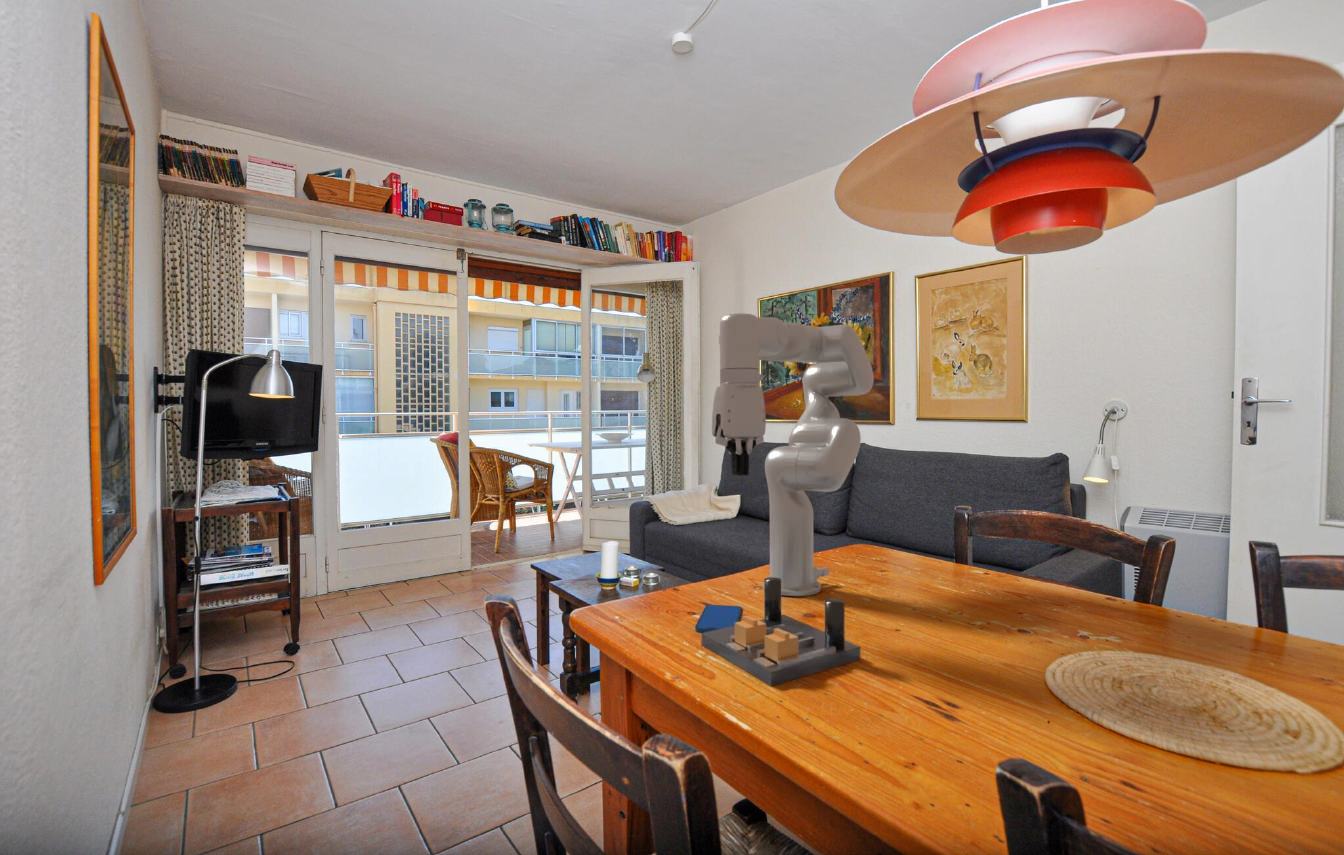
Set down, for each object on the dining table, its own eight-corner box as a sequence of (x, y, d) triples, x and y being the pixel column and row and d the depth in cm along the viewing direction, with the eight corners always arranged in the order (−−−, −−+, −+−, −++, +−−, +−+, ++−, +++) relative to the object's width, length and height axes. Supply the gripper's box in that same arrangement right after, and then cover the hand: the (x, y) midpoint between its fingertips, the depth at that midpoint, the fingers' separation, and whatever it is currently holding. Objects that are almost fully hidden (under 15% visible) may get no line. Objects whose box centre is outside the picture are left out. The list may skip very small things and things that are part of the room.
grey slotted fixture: (780, 623, 110) (780, 575, 110) (860, 659, 94) (860, 602, 94) (698, 643, 101) (697, 590, 101) (771, 686, 85) (770, 623, 85)
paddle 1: (754, 636, 98) (754, 613, 98) (766, 642, 95) (766, 618, 95) (734, 641, 96) (734, 617, 96) (746, 647, 93) (746, 623, 93)
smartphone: (742, 606, 120) (735, 630, 105) (742, 611, 120) (735, 636, 105) (706, 604, 121) (694, 628, 107) (706, 609, 121) (694, 633, 107)
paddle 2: (785, 650, 92) (784, 625, 92) (798, 656, 90) (798, 631, 89) (764, 655, 90) (764, 630, 90) (777, 662, 88) (777, 636, 87)
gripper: (758, 381, 122) (758, 471, 122) (696, 379, 115) (697, 475, 115) (782, 379, 116) (783, 474, 116) (718, 377, 108) (719, 478, 108)
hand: (740, 474), depth 115 cm, fingers closed
